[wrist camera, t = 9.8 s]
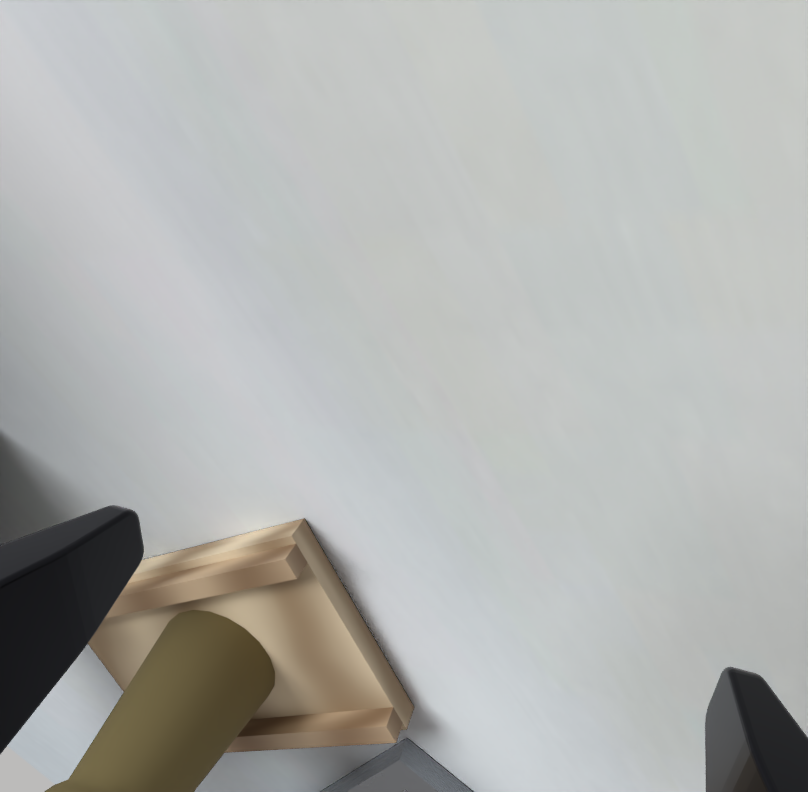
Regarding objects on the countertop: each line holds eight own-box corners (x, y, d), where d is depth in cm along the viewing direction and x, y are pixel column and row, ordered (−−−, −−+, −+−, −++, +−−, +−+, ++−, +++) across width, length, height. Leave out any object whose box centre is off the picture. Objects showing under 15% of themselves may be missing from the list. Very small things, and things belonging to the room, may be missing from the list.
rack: (304, 518, 27) (280, 550, 25) (414, 707, 30) (399, 749, 28) (68, 579, 34) (35, 608, 32) (177, 727, 37) (152, 762, 35)
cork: (220, 714, 33) (58, 966, 24) (143, 630, 32) (-59, 859, 23) (299, 688, 30) (151, 963, 21) (218, 594, 29) (22, 839, 20)
